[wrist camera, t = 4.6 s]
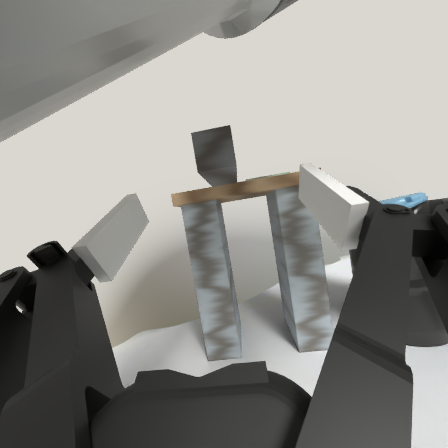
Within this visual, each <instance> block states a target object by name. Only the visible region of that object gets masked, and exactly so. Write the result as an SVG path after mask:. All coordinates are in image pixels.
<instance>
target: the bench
mask: <svg viewBox="0 0 448 448" xmlns="http://www.w3.org/2000/svg"><path fill="white" fill-rule="evenodd" d="M319 169H320V170H321V168H319ZM299 175H300V172H294V173H290V172H286V173H280V174H275V175H269V176H264V177H258V178H252V179H247V180H246V181H243V182H238V183H232V184H226V185H221V186H215V187H209V188H204V189H198V190H192V191H187V192H182V193H176V194H171V197H172V202H173V206H177V207H181V209H182V215H183V220H184V226H185V231H186V237H187V243H188V249H189V255H190V260H191V266H192V272H193V277H194V283H195V288H196V295H197V301H198V306H199V311H200V318H201V323H202V329H203V335H204V341H205V346H206V352H207V358H208V361H214V360H224V359H235V358H241V323H240V316H239V310H238V304H237V298H236V293H235V286H234V280H233V275H232V268H231V262H230V256H229V250H228V243H227V237H226V231H225V225H224V219H223V212H222V207H221V203H223V202H229V201H235V200H241V199H247V198H253V197H259V196H265V195H266V197H267V204H268V210H269V217H270V223H271V230H272V236H273V243H274V250H275V257H276V264H277V270H278V277H279V284H280V290H281V297H282V304H283V310H284V317H285V320H286V323H287V325H288V327H289V330H290V332H291V334H292V336H293V339H294V341H295V343H296V346H297V348H298V350H299V352H308V351H319V350H328V348H329V345H330V342H331V339H332V336H333V333H334V332H333V325H332V317H331V310H330V303H329V295H328V288H327V281H326V273H325V266H324V259H323V252H322V244H321V237H320V230H319V222H318V221H317V220H316V219H315V217H314V216H313V215H312V214H311V213H310V211H309V210H308V209H307V208H306V206H305V205H304V204H303V203H302V201H301V200H300V199H299V198H298V197H299Z"/></svg>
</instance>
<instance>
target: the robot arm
mask: <svg viewBox="0 0 448 448" xmlns="http://www.w3.org/2000/svg"><path fill="white" fill-rule="evenodd" d="M296 1H298V0H0V142H2V141H4V140H6V139H7V138H9V137H11V136H13V135H15V134H17V133H18V132H20V131H22V130H24V129H26V128H28V127H29V126H31V125H33V124H35V123H37V122H38V121H40V120H42V119H44V118H46V117H48V116H50V115H51V114H53V113H55V112H57V111H59V110H60V109H62V108H64V107H66V106H68V105H70V104H72V103H73V102H75V101H77V100H79V99H81V98H82V97H84V96H86V95H88V94H90V93H92V92H94V91H95V90H97V89H99V88H101V87H103V86H105V85H106V84H108V83H110V82H112V81H114V80H116V79H117V78H119V77H121V76H123V75H125V74H127V73H128V72H130V71H132V70H134V69H136V68H138V67H139V66H141V65H143V64H145V63H147V62H149V61H150V60H152V59H154V58H156V57H158V56H160V55H162V54H163V53H165V52H167V51H169V50H171V49H173V48H174V47H176V46H178V45H180V44H182V43H184V42H185V41H187V40H189V39H191V38H193V37H195V36H196V35H198V34H200V33H202V32H204V33H206V34H208V35H210V36H214V37H217V38H225V39H226V38H234V37H237V36H240V35H243V34H246V33H247V32H249V31H251V30H253V29H254V28H256V27H257V26H258V25H260V24H261V23H262V22H264V21H266V20H267V19H269V18H270V17H272V16H273V15H275V14H277V13H279V12H280V11H282V10H283V9H285V8H287V7H288V6H290V5H291V4H293V3H294V2H296ZM298 198H299V199H300V200H301V201H302V203H303V204H304V205H305V206H306V208H307V209H308V210H309V211H310V213H311V214H312V215H313V216H314V217H315V219H316V220H317V221H318V222H319V224H320V225H321V226H322V227H323V229H324V230H325V231H326V232H327V233H328V235H329V236H330V237H331V238H332V240H333V241H334V242H335V243H336V244H337V246H338V247H339V248H340V249H341V251H343V250H349V252H350V259H351V267H352V274H353V278H352V281H351V284H350V287H349V290H348V293H347V296H346V299H345V302H344V305H343V308H342V311H341V314H340V317H339V320H338V323H337V326H336V328H335V330H334V333H333V336H332V339H331V342H330V345H329V348H328V351H327V354H326V357H325V360H324V363H323V366H322V369H321V372H320V375H319V378H318V381H317V384H316V387H315V390H314V393H313V396H312V397H311V396H310V395H309V394H308V393H307V392H306V391H305V390H304V389H303V388H301V387H300V386H299V385H297V384H296V383H295V382H293V381H292V380H290V379H288V378H286V377H285V376H282V375H280V374H277V373H275V372H271V371H267V368H266V362H265V361H261V362H249V363H237V364H231V365H229V366H226V367H224V368H221V369H219V370H216V371H214V372H212V373H209V374H207V375H204V376H202V377H194V376H191V375H187V374H183V373H180V372H176V371H172V370H169V369H165V370H153V371H141V372H138V374H137V377H136V380H135V383H134V384H132V385H131V386H129V387H127V388H125V389H124V387H123V385H122V382H121V379H120V376H119V372H118V369H117V365H116V361H115V358H114V354H113V351H112V347H111V343H110V340H109V336H108V333H107V329H106V325H105V322H104V318H103V315H102V311H101V307H100V304H99V300H98V296H97V293H96V289H95V286H94V284H93V283H92V282H91V280H92V278H93V277H94V276H95V277H96V278H97V279H98V281H99V282H107V281H112V280H113V278H114V277H115V275H116V274H117V272H118V270H119V269H120V267H121V266H122V264H123V263H124V261H125V259H126V258H127V256H128V254H129V253H130V251H131V250H132V248H133V247H134V245H135V243H136V242H137V240H138V239H139V237H140V235H141V234H142V232H143V231H144V229H145V227H146V226H147V224H148V223H149V220H148V218H147V216H146V214H145V212H144V210H143V207H142V205H141V204H140V201H139V199H138V197H137V195H136V194H130V195H127V196H126V197H124V198H123V199H122V200H121V201H120V202H119V203H118V204H117V205H116V206H115V207H114V208H113V209H112V210H111V211H110V212H109V213H108V214H107V215H106V216H105V217H104V218H102V219H101V220H100V221H99V222H98V223H97V224H96V225H95V226H94V227H93V228H92V229H91V230H90V231H89V232H88V233H87V234H86V235H85V236H84V237H83V238H81V240H79V241H78V242H77V243H76V244H75V245H74V246H73V247H72V249H71V250H70V251H69V252H68V253H67V252H66V251H65V250H64V249H63V248H62V246H61V245H60V244H59V243H58V242H57V241H51V242H47V243H45V244H42V245H41V246H38V247H37V248H35V249H33V250H32V251H31V252H30V253H28V255H27V257H28V258H29V259H30V260H31V261H32V262H33V263H34V264H35V265H36V266H37V267H38V268H39V269H38V270H36V271H33V272H29V271H28V270H27V269H26V268H24V267H23V266H22V267H16V268H14V269H11V270H7V271H6V272H4V273H2V274H1V275H0V448H411V430H412V400H413V374H412V370H411V367H409V366H408V365H406V362H405V349H406V344H407V345H414V346H440V345H445V344H448V198H443V199H436V200H427V199H428V197H427V196H426V195H425V193H415V194H410V195H406V196H401V197H396V198H392V199H387V200H383V201H379V202H378V201H377V200H375V199H374V198H372V197H370V196H368V195H367V194H366V193H363V192H362V191H361V190H359V189H358V188H354V187H351V186H344V185H343V184H341V183H340V182H338V181H337V180H335V179H334V178H332V177H331V176H329V175H328V174H326V173H324V172H323V171H322V170H320V169H319V168H317V167H316V166H314V165H313V164H311V163H307V164H302V165H300V175H299V197H298ZM16 305H17V306H18V307H19V308H21V309H22V310H23V311H22V313H21V312H19V311H18V309H17V308H16Z"/></svg>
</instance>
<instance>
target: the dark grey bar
mask: <svg viewBox="0 0 448 448" xmlns="http://www.w3.org/2000/svg"><path fill="white" fill-rule="evenodd" d="M191 134H192V140H193V146H194V152H195V159H196V164H197V170H198V173H199V174H200V175H201V176H202V177H203V178H204V179H206V181H207V182H208V183H209V184H210V185H211V186H212V187H215V186H221V185H226V184H232V183H237V168H236V160H235V153H234V147H233V140H232V135H231V128H230V125H228V126H224V127H219V128H213V129H209V130H204V131H199V132H194V133H191Z"/></svg>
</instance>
